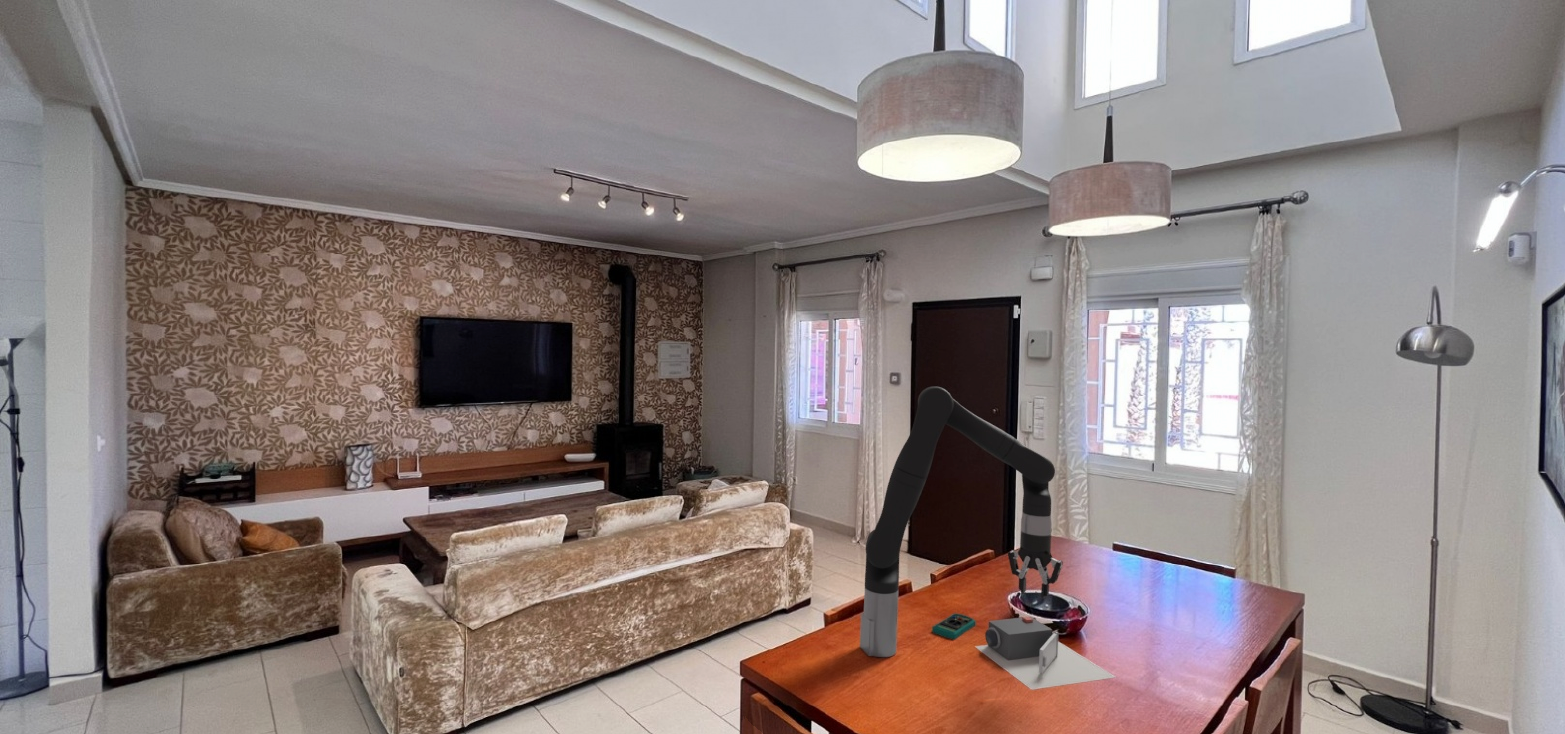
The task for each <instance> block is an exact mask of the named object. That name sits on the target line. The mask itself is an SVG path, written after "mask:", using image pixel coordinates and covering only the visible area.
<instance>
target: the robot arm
mask: <svg viewBox="0 0 1565 734" xmlns="http://www.w3.org/2000/svg"><path fill="white" fill-rule="evenodd" d="M945 425H947V426H948V427H950V428H952V429H954V430H956V431H957V432H959V433H961V434H962V435H963V436H965V437H966V438H967V439H968V440H970V441H971V442H973V443H974V444H976V445H977V446H978V447H979V448H981V449H983V450H984V451H985V452H987V453H988V454H990V455H991V456H992V457H995V458H996V459H998V460H1000V461H1001V462H1003V463H1005V464H1007V465H1009V466H1010V467H1012V469H1013V468H1014V469H1015V470H1016V471H1017V472H1018V473H1020V474H1021V481H1022V492H1023V497H1022V510H1021V511H1022V512H1021V513H1022V514H1021V519H1020V537H1019V538H1020V539H1019V540H1020V541H1019V545H1020V547H1019V549H1018V550H1014V549H1011V550H1010V551H1009V552H1008V553H1007V556H1008V557H1007V558H1008V561H1009V566H1010V571H1011V574H1012V575H1013V576H1016V577H1018V590H1019V591H1020V593H1021V594H1022V593H1023V594H1025V593H1026V592H1027V577H1026V576H1027V573H1028V571H1029V569H1030V570H1031V569H1032V570H1036V571H1038V573H1039V576H1040V578H1041V581H1042V583H1041V593H1040V596H1041V598H1042V599H1045V598H1046V597H1047V596H1049V594H1050V584H1052V585H1053V584H1055V583H1056V582H1057V581H1058V579H1059V576H1060V573H1061V570H1062V567H1063V564H1064V562H1063V560H1061V559H1060V560H1059V559H1057V558H1053V555H1052V553H1051V551H1052V549H1051V548H1052V530H1053V529H1052V496H1051V494H1050V491H1049V490H1050V488H1049V484H1050V483H1049V482H1051V481H1053V479H1054V477H1055V474H1056V469H1055V466H1054V464H1053V462H1052V461H1051V460H1050V459H1049V458H1047V457H1046V456H1045V455H1042V454H1041V453H1038V452H1037V451H1034V450H1033V449H1032V448H1030V447H1027V446H1026V445H1024V444H1023V443H1022V442H1021V441H1020V440H1018V439H1017V438H1016V437H1014V436H1013V435H1011V434H1009V433H1007V432H1006V431H1004V430H1003V429H1001V428H999V427H997V426H996V425H993V424H992V423H990V422H988V421H987V420H984V419H983V418H982V417H979V416H977V415H976V414H974V413H973V412H972V411H970V410H968V409H967V408H965V407H964V406H963V405H961V404H960V403H959V402H958V401H956V400H955V399H954V398H953V397H952V395H951V393H950V392H948V390H946V389H945V388H943V387H942V386H941V387H940V386H934V385H933V386H928V387H927V388H924V389H923V390H922V391H921V392H920V394H919V395H918V398H917V410H916V414H915V417H914V422H913V425H912V428H911V431H910V434H909V436H908V437H907V439H906V441H905V443H904V444H903V447H902V448H901V450H900V452H899V455H898V456H897V458H896V461H895V463H894V466H893V469H892V471H891V474H890V477H889V478H888V479H889V480H888V483H887V487H886V490H885V496H884V500H883V505H882V510H881V513H880V516H879V519H878V521H877V523H876V525H875V528H874V529H873V530H872V531H871V532H870V533H869V534H868V536H867V539H866V542H865V572H864V595H863V597H864V598H863V599H864V600H863V601H864V603H863V612H861V613H860V630H859V631H860V632H859V633H860V634H859V647H860V649H861V650H862V651H863V652H864V653H865V654H866V655H867V656H868V657H878V658H889V657H892V656H894V655H896V653H897V646H898V644H897V642H898V641H897V640H898V639H897V638H898V614H899V613H898V610H899V586H900V585H899V584H900V583H899V582H900V581H899V580H900V556H901V555H900V553H901V548H902V543H903V538H904V535H905V531H906V529H907V526H908V523H909V520H910V519H911V516H912V514H913V512H914V510H915V509H916V507H917V505H918V502H919V500H920V497H921V495H922V493H923V492H922V491H924V488H925V484H926V481H927V479H928V476H929V473H930V470H931V466H932V463H933V459H934V455H935V453H936V452H935V451H936V447H937V443H938V440H939V439H940V436H941V434H942V433H943V430H944V427H945ZM1018 558H1020V560H1021V561H1022V566H1021V568H1020V569H1019V564H1018V563H1019V562H1018ZM1050 563H1051V564H1052V565H1051V566H1052V568H1053V571H1052V574H1051V576H1050V575H1049V569H1048V565H1049V564H1050Z"/></svg>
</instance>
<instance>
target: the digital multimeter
mask: <svg viewBox="0 0 1565 734" xmlns="http://www.w3.org/2000/svg"><path fill="white" fill-rule="evenodd" d="M974 627H976V620H975V619H974V618H972V617H970V616H967V615H964V614H960V613H956V612H955V613H953V614H951V615H950V616H948V617H947V618H945V619H943V620H941V621H940V622H938V623H937V624H935V625H933V626H932V630H931V632H932V633H933V634H936V635H939V636H941V637H944V638H948V639H951V640H957V639H958V638H959V637H960V636H962V635H963V634H964V633H966V632H967V631H969V630H971V629H972V628H974Z"/></svg>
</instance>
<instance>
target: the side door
mask: <svg viewBox="0 0 1565 734" xmlns="http://www.w3.org/2000/svg"><path fill="white" fill-rule="evenodd" d="M1058 641H1059V631H1056V630H1055V631H1053V632H1052V636H1051V637H1050V638H1049V639H1048V640H1047V642H1046V643H1045V644H1044V645H1043V646H1042V647H1041V649H1040V654H1039V673H1043V672H1044V670H1045V669H1046V668H1047V667H1048V665H1049V664H1050V663H1051V662H1052V660H1053V659H1054V658H1055V656H1058Z"/></svg>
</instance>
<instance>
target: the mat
mask: <svg viewBox="0 0 1565 734" xmlns="http://www.w3.org/2000/svg"><path fill="white" fill-rule="evenodd" d="M974 648H976V649H977V650H978V651H980V652H981V653H982V654H984V655H985V656H986V657H987V658H989V659H990V660H992V661H993V662H995V663H996V664H997V665H998V666H999V667H1001V668H1002V669H1004V671H1006V672H1007V673H1008V674H1010V675H1011V676H1013V677H1014V678H1015V679H1017V680H1018V681H1019V682H1020V683H1021V684H1023V685H1025V687H1028V689H1030V690H1031V691H1033V690H1039V689H1040V690H1041V689H1048V688H1053V687H1054V688H1055V687H1059V686H1060V687H1061V686H1068V685H1073V684H1080V683H1086V682H1087V683H1089V682H1094V681H1102V680H1108V679H1115V678H1116V676H1115V675H1113V674H1112V673H1110V672H1109V671H1108V670H1106V669H1104V668H1103V667H1101V666H1099V665H1098V664H1095V663H1094V662H1092V661H1091V660H1090V659H1088V658H1087V657H1085V656H1083V655H1081V654H1079V653H1078V652H1076V651H1075V650H1073V648H1070V647H1068V646H1067V645H1065V644H1064V643H1061V642H1060V641H1059V640H1058V656H1055V658H1054V659H1053V660H1052V662H1051V663H1050V664H1049V665H1048V667H1047V668H1046V669H1045V670H1044V672H1043V673H1039V657H1031V658H1023V659H1016V660H1007V659H1005V658H1004V657H1003V656H1001V655H1000V654H999V653H997V652H996V651H994V650H993V649H992V648H990V647H989V646H988V644H985V645H975V646H974Z"/></svg>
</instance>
